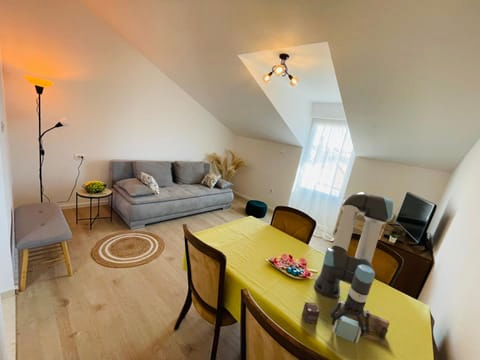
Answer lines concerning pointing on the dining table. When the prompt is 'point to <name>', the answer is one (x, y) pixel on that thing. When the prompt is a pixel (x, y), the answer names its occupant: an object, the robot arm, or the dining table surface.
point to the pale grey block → (347, 328)
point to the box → (310, 312)
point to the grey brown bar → (372, 326)
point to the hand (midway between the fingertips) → (344, 335)
